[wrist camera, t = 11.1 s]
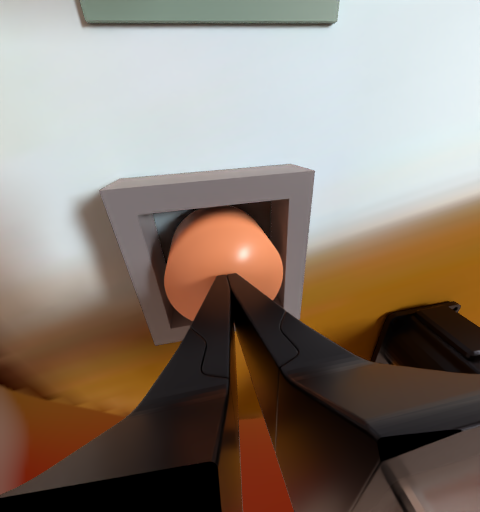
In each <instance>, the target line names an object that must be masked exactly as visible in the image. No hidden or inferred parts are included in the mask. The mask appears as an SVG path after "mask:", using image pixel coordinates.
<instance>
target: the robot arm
mask: <svg viewBox="0 0 480 512" xmlns="http://www.w3.org/2000/svg"><path fill="white" fill-rule="evenodd" d="M460 307H461V305H459V304H458V303H456V302H454V301H452V302H447V303H442V304H437V305H432V306H426V307H421V308H416V309H411V310H405V311H400V312H395V313H391V314H390V315H389V316H388V317H387V318H386V321H385V324H384V327H383V329H382V332H381V335H380V338H379V340H378V343H377V346H376V349H375V351H374V354H373V357H372V360H371V361H368V360H365V359H362V358H360V357H358V356H356V355H354V354H353V353H351V352H349V351H347V350H346V349H344V348H343V347H341V346H339V345H338V344H336V343H334V342H333V341H331V340H329V339H328V338H326V337H324V336H323V335H321V334H319V333H318V332H316V331H315V330H313V329H311V328H310V327H308V326H307V325H305V324H304V323H302V322H301V321H300V320H298V319H297V318H295V317H294V316H293V315H291V314H290V313H289V312H286V310H285V309H283V308H282V307H281V306H279V305H278V304H277V303H275V302H274V301H273V300H271V299H270V298H269V297H267V296H266V295H265V294H264V293H262V292H261V291H260V290H258V289H257V288H256V287H254V286H253V285H252V284H250V283H249V282H248V281H246V280H245V279H244V278H242V277H241V276H240V275H238V274H237V273H232V274H227V275H218V276H216V278H215V280H214V282H213V284H212V286H211V288H210V289H209V291H208V293H207V295H206V297H205V299H204V301H203V303H202V305H201V307H200V309H199V311H198V312H197V314H196V316H195V318H194V320H193V322H192V324H191V326H190V329H188V331H187V333H186V335H185V337H184V339H183V341H182V342H181V344H180V346H179V348H178V349H177V351H176V352H175V354H174V355H173V357H172V358H171V360H170V361H169V363H168V364H167V366H166V367H165V369H164V370H163V371H162V373H161V374H160V376H159V377H158V379H157V380H156V381H155V383H154V384H153V386H152V387H151V389H150V390H149V392H148V393H147V394H146V396H145V397H144V399H143V400H142V401H141V403H140V404H139V405H138V406H137V407H136V408H135V409H134V410H133V411H132V412H131V413H130V414H129V415H128V416H127V417H126V418H125V419H123V420H122V421H120V422H119V423H117V424H116V425H114V426H113V427H111V428H110V429H108V430H107V431H105V432H104V433H102V434H101V435H99V436H98V437H96V438H95V439H93V440H92V441H90V442H89V443H87V444H86V445H84V446H83V447H81V448H80V449H78V450H77V451H75V452H74V453H72V454H71V455H69V456H68V457H66V458H65V459H63V460H62V461H60V462H59V463H57V464H56V465H54V466H53V467H51V468H50V469H48V470H46V471H45V472H43V473H42V474H40V475H38V476H37V477H35V478H33V479H32V480H30V481H28V482H26V483H24V484H22V485H20V486H19V487H17V488H15V489H13V490H10V491H8V492H6V493H3V494H1V495H0V512H243V507H242V485H241V466H240V465H241V464H240V441H239V418H238V396H237V374H236V352H235V331H234V325H235V329H236V332H237V336H238V339H239V342H240V345H241V348H242V351H243V354H244V357H245V360H246V363H247V367H248V370H249V373H250V376H251V379H252V382H253V385H254V388H255V391H256V394H257V398H258V401H259V404H260V407H261V410H262V413H263V416H264V419H265V422H266V425H267V429H268V431H269V434H270V438H271V441H272V444H273V447H274V450H275V452H276V457H277V460H278V463H279V466H280V469H281V472H282V475H283V478H284V481H285V484H286V488H287V491H288V494H289V497H290V500H291V503H292V506H293V509H294V512H480V327H478V326H477V325H475V324H474V323H472V322H471V321H469V320H468V319H466V318H465V317H463V316H462V315H460V314H459V313H458V311H459V309H460Z"/></svg>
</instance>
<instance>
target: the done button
mask: <svg viewBox="0 0 480 512" xmlns="http://www.w3.org/2000/svg"><path fill="white" fill-rule="evenodd" d="M232 273H237V274H238V275H240V276H241V277H242V278H244V279H245V280H246V281H248V282H249V283H250V284H252V285H253V286H254V287H256V288H257V289H258V290H260V291H261V292H262V293H264V294H265V295H266V296H267V297H269V298H270V299H271V300H274V298H275V297H276V295H277V293H278V291H279V289H280V287H281V283H282V279H283V265H282V260H281V258H280V255H279V253H278V251H277V250H276V248H275V247H274V245H273V244H272V243H271V241H270V240H269V239H268V237H267V236H266V234H265V233H264V232H263V230H262V229H261V228H260V226H259V225H258V223H257V222H256V221H255V220H254V219H253V218H252V217H251V216H250V215H249V214H248V213H246V212H245V211H243V210H241V209H239V208H236V207H233V206H228V205H225V206H216V207H207V208H200V209H198V210H196V211H194V212H192V213H191V214H189V215H188V216H187V217H186V218H184V220H183V221H182V222H181V223H180V224H179V226H178V227H177V229H176V231H175V233H174V235H173V238H172V242H171V247H170V252H169V256H168V261H167V265H166V270H165V276H164V286H165V291H166V294H167V297H168V299H169V301H170V303H171V304H172V306H173V307H174V308H175V309H176V310H177V311H178V312H179V313H180V314H181V315H183V316H184V317H186V318H187V319H189V320H191V321H193V320H194V318H195V316H196V314H197V312H198V311H199V309H200V307H201V305H202V303H203V301H204V299H205V297H206V295H207V293H208V291H209V289H210V288H211V286H212V284H213V282H214V280H215V278H216V276H218V275H227V274H232Z"/></svg>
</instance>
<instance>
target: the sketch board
mask: <svg viewBox="0 0 480 512" xmlns="http://www.w3.org/2000/svg"><path fill="white" fill-rule="evenodd" d="M80 3H81V7H82V10H83V14H84V17H85V21H86V22H87V23H335V22H337V18H338V9H339V0H80Z"/></svg>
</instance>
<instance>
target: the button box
mask: <svg viewBox="0 0 480 512" xmlns="http://www.w3.org/2000/svg"><path fill="white" fill-rule="evenodd" d="M314 174H315V171H314V170H311V169H307V168H304V167H300V166H296V165H293V164H284V165H272V166H261V167H249V168H238V169H226V170H214V171H203V172H191V173H180V174H168V175H157V176H145V177H133V178H122V179H118V180H117V181H115V182H113V183H111V184H110V185H108V186H106V187H104V188H103V189H101V190H99V192H100V195H101V198H102V200H103V203H104V206H105V209H106V211H107V214H108V217H109V220H110V222H111V225H112V228H113V231H114V233H115V236H116V239H117V242H118V244H119V247H120V250H121V253H122V256H123V258H124V261H125V264H126V267H127V269H128V272H129V275H130V278H131V280H132V283H133V286H134V289H135V291H136V294H137V297H138V300H139V302H140V305H141V308H142V311H143V313H144V316H145V319H146V322H147V324H148V327H149V330H150V333H151V335H152V338H153V341H154V344H155V346H157V345H162V344H167V343H173V342H178V341H183V339H184V337H185V335H186V333H187V331H188V329H190V326H191V324H192V322H193V321H191V320H189V319H187V318H186V317H184V316H183V315H181V314H180V313H179V312H178V311H177V310H176V309H175V308H174V307H173V306H172V304H171V303H170V301H169V299H168V297H167V294H166V291H165V286H164V276H165V270H166V263H165V259H164V255H163V251H162V247H161V243H160V239H159V236H158V232H157V228H156V224H155V220H154V216H153V213H160V212H170V211H179V210H188V209H197V208H207V207H216V206H225V205H235V204H244V203H253V202H262V201H271V233H270V241H271V243H272V244H273V245H274V247H275V248H276V250H277V251H278V253H279V255H280V258H281V260H282V265H283V279H282V283H281V287H280V289H279V291H278V293H277V295H276V297H275V298H274V300H273V301H274V302H275V303H277V304H278V305H279V306H281V307H282V308H283V309H285V310H286V312H289V313H290V314H291V315H293V316H294V317H295V318H297V319H300V311H301V301H302V292H303V282H304V272H305V262H306V252H307V243H308V233H309V223H310V213H311V203H312V194H313V184H314ZM234 331H236V329H235V325H234Z"/></svg>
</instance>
